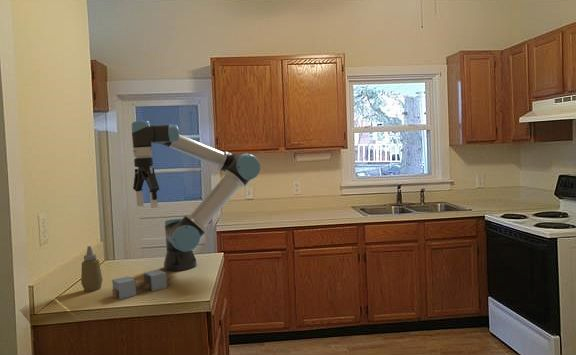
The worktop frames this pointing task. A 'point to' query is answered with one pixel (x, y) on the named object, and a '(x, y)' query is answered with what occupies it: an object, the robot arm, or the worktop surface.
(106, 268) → the worktop surface
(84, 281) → the squeeze bottle
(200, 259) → the worktop surface
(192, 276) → the worktop surface
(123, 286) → the slider block
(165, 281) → the grey cube block
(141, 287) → the rail
